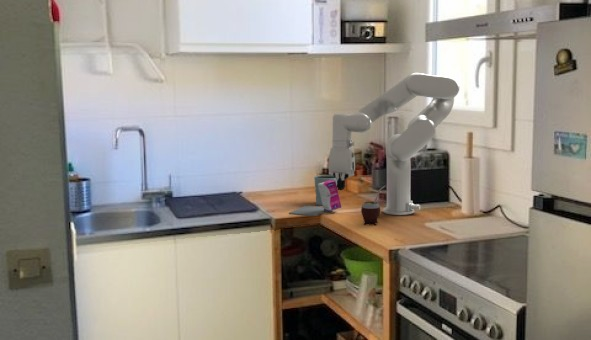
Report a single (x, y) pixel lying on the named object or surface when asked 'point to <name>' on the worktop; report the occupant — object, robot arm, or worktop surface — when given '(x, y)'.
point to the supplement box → (329, 195)
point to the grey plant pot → (319, 180)
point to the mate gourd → (371, 211)
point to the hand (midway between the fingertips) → (341, 189)
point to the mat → (308, 211)
